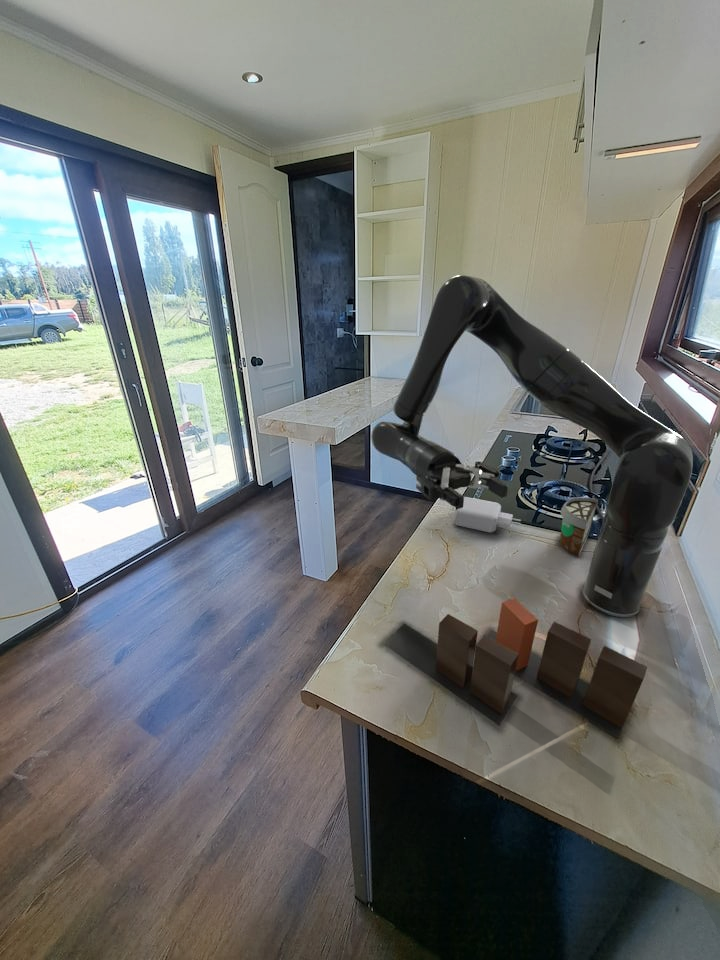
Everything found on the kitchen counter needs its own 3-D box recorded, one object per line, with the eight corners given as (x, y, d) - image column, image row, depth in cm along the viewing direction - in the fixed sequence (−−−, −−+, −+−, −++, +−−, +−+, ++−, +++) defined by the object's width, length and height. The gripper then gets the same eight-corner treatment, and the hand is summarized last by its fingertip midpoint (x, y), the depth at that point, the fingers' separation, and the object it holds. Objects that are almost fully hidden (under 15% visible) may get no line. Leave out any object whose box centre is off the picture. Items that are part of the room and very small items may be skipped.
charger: (516, 540, 92) (454, 526, 99) (521, 521, 100) (463, 510, 106) (519, 523, 90) (456, 510, 97) (523, 505, 98) (464, 494, 104)
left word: (404, 624, 70) (405, 580, 66) (517, 696, 57) (527, 647, 52) (383, 644, 66) (382, 599, 62) (498, 727, 53) (508, 677, 49)
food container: (561, 526, 97) (570, 491, 93) (589, 534, 93) (598, 498, 89) (547, 549, 89) (555, 512, 84) (576, 559, 85) (586, 521, 81)
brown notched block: (491, 630, 68) (498, 586, 64) (628, 707, 55) (650, 657, 50) (474, 652, 64) (481, 605, 60) (618, 740, 51) (640, 689, 47)
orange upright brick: (506, 642, 65) (514, 597, 61) (527, 665, 61) (538, 619, 57) (494, 647, 65) (501, 602, 60) (515, 671, 60) (525, 624, 56)
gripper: (398, 451, 71) (447, 485, 58) (463, 438, 76) (522, 468, 62) (398, 486, 75) (445, 527, 61) (460, 473, 79) (516, 508, 65)
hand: (484, 497), depth 62 cm, fingers open, 8 cm apart
